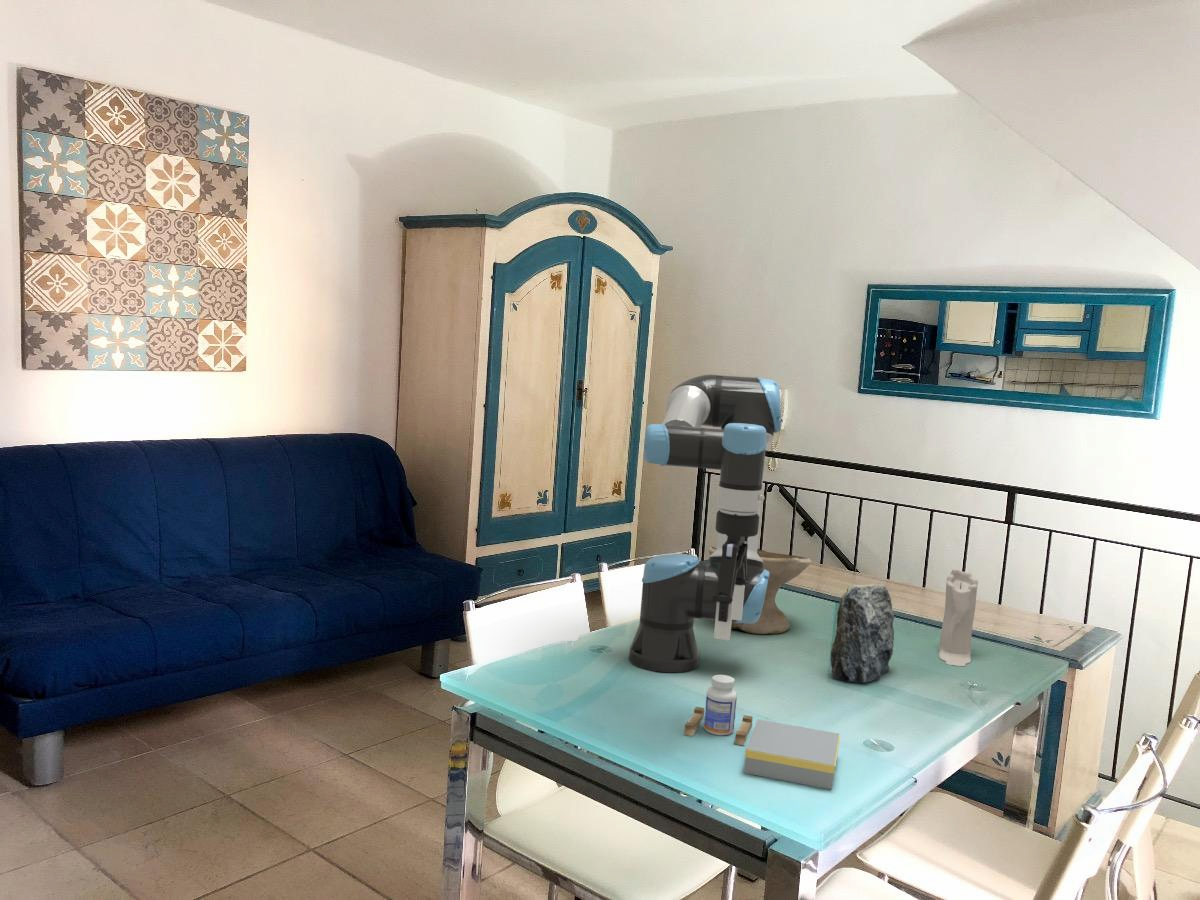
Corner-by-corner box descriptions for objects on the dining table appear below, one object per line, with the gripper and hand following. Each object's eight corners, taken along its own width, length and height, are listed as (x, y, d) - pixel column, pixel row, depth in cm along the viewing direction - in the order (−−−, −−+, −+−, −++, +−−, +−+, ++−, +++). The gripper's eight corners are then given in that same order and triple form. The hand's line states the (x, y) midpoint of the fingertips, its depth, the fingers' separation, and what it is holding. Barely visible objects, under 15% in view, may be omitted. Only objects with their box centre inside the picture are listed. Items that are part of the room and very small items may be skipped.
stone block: (859, 688, 204) (869, 595, 202) (823, 676, 211) (831, 585, 208) (903, 672, 217) (913, 584, 215) (868, 661, 223) (876, 576, 221)
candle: (939, 663, 226) (948, 578, 223) (938, 647, 239) (947, 566, 237) (972, 668, 223) (981, 583, 221) (970, 652, 236) (979, 571, 234)
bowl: (819, 624, 251) (826, 548, 249) (782, 646, 230) (790, 563, 228) (727, 605, 265) (734, 532, 263) (685, 624, 243) (691, 545, 241)
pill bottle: (714, 721, 180) (718, 670, 179) (739, 730, 177) (744, 678, 176) (697, 729, 176) (702, 677, 175) (723, 738, 173) (727, 685, 172)
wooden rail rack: (684, 734, 173) (684, 725, 173) (695, 715, 183) (696, 706, 183) (743, 745, 170) (744, 735, 170) (751, 725, 180) (752, 716, 180)
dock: (743, 772, 159) (745, 749, 159) (755, 740, 173) (757, 719, 172) (832, 790, 155) (835, 765, 155) (837, 755, 169) (840, 733, 168)
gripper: (749, 524, 160) (738, 651, 162) (768, 504, 183) (758, 614, 186) (704, 519, 162) (694, 644, 164) (728, 499, 185) (719, 609, 188)
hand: (728, 628), depth 175 cm, fingers open, 13 cm apart
